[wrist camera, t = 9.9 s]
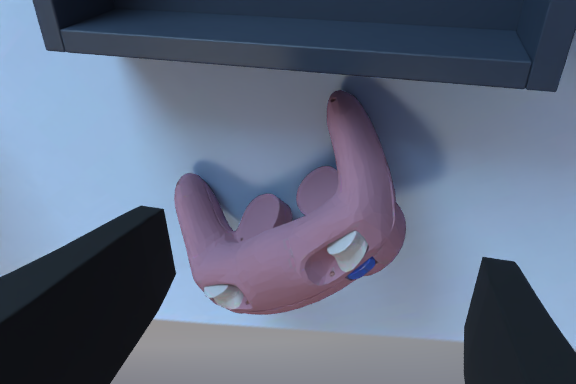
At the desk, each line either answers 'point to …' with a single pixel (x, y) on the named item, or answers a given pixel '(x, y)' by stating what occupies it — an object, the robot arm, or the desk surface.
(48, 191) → the desk surface
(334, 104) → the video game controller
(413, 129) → the desk surface
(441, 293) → the desk surface
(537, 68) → the bin
